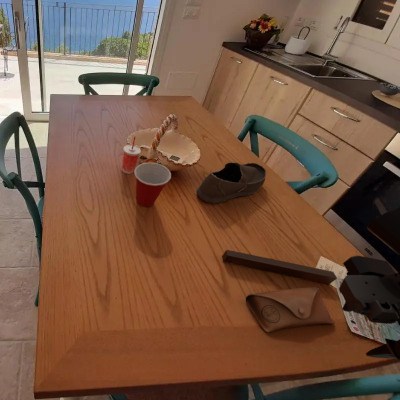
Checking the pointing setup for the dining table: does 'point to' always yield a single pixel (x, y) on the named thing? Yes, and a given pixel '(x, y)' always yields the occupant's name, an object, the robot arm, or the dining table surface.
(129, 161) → the beverage cup
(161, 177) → the plastic cup
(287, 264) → the rail
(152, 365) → the dining table surface
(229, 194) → the loafer
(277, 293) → the sunglasses case
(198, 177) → the dining table surface
